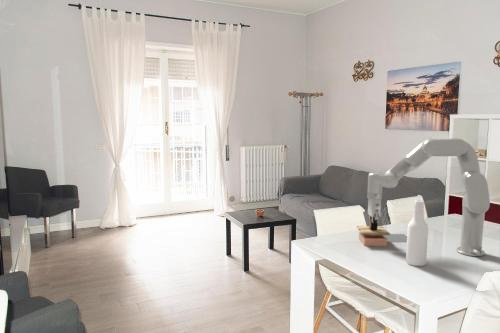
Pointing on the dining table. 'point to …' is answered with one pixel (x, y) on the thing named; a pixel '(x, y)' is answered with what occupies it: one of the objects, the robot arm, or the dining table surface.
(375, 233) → the lid
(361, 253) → the dining table surface
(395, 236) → the mat
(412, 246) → the alcohol
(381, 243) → the dish
